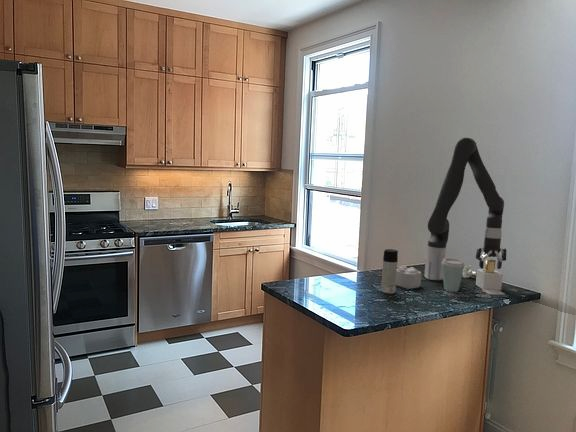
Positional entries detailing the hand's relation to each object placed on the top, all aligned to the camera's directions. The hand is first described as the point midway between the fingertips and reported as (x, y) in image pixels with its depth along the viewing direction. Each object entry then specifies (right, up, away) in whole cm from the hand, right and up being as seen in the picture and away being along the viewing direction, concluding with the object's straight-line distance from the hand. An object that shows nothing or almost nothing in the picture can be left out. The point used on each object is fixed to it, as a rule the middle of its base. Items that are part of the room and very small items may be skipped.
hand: (490, 268), depth 238 cm
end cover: (0, -7, +1) cm, 7 cm away
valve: (-3, -8, +17) cm, 19 cm away
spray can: (-54, -10, -13) cm, 56 cm away
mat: (-2, -11, -8) cm, 14 cm away
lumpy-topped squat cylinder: (-42, -8, +1) cm, 43 cm away
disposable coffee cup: (-22, -10, -7) cm, 25 cm away
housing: (0, -10, +1) cm, 10 cm away
